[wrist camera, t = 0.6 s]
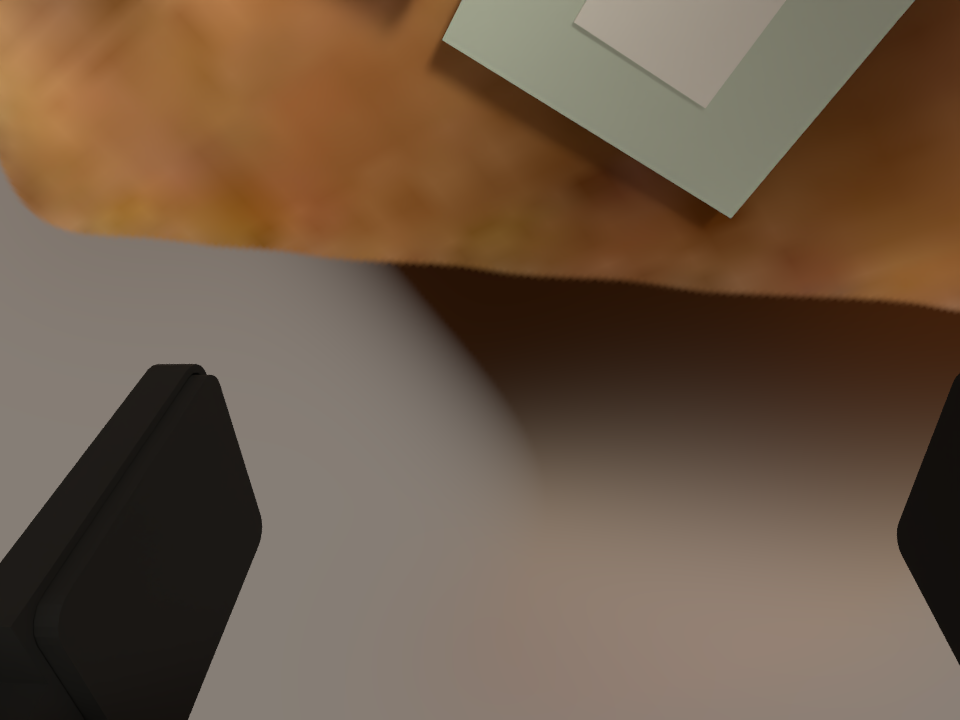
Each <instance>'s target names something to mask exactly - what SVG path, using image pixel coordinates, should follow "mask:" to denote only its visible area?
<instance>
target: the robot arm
mask: <svg viewBox="0 0 960 720" xmlns="http://www.w3.org/2000/svg"><path fill="white" fill-rule="evenodd" d="M261 534H262V520H261V515H260V512H259V509H258V506H257V502H256V499H255V496H254V493H253V489H252V486H251V483H250V480H249V476H248V474H247V470H246V467H245V464H244V460H243V457H242V454H241V451H240V448H239V444H238V441H237V438H236V435H235V431H234V428H233V425H232V422H231V419H230V416H229V412H228V409H227V406H226V403H225V399H224V396H223V393H222V390H221V386H220V384H219V381H218V379H217V378H216V377H215V376H213V375H207V374H206V372H205V370H204V369H203V368H202V367H201V366H200V365H197V364H157V365H153V366H152V367H151V368H149V369H148V370H147V372H146V373H145V374H144V376H143V377H142V378H141V379H140V381H139V382H138V383H137V385H136V386H135V387H134V389H133V390H132V391H131V392H130V394H129V395H128V396H127V398H126V399H125V401H124V402H123V403H122V404H121V406H120V407H119V408H118V409H117V411H116V412H115V413H114V415H113V416H112V418H111V419H110V420H109V421H108V423H107V424H106V425H105V427H104V428H103V429H102V430H101V432H100V433H99V434H98V436H97V437H96V438H95V440H94V441H93V442H92V444H91V445H90V446H89V447H88V449H87V450H86V451H85V453H84V454H83V455H82V457H81V458H80V459H79V461H78V462H77V463H76V465H75V466H74V467H73V468H72V470H71V471H70V472H69V474H68V475H67V476H66V478H65V479H64V480H63V481H62V483H61V484H60V485H59V487H58V488H57V489H56V491H55V492H54V493H53V495H52V496H51V497H50V498H49V500H48V501H47V502H46V504H45V505H44V507H43V508H42V509H41V510H40V512H39V513H38V514H37V516H36V517H35V518H34V519H33V521H32V522H31V523H30V525H29V526H28V527H27V529H26V530H25V531H24V533H23V534H22V535H21V537H20V538H19V539H18V540H17V542H16V543H15V544H14V546H13V547H12V548H11V550H10V551H9V552H8V553H7V555H6V556H5V557H4V559H3V560H2V561H1V563H0V720H188V718H189V715H190V713H191V711H192V708H193V706H194V703H195V701H196V698H197V696H198V693H199V691H200V688H201V686H202V683H203V681H204V678H205V676H206V673H207V671H208V669H209V666H210V664H211V661H212V659H213V656H214V654H215V651H216V649H217V646H218V644H219V642H220V639H221V636H222V634H223V632H224V629H225V627H226V624H227V622H228V619H229V617H230V615H231V612H232V609H233V607H234V605H235V602H236V600H237V597H238V595H239V592H240V590H241V588H242V585H243V582H244V580H245V578H246V575H247V572H248V570H249V568H250V565H251V563H252V560H253V558H254V556H255V553H256V551H257V548H258V546H259V543H260V539H261ZM897 540H898V545H899V550H900V552H901V554H902V556H903V558H904V560H905V562H906V564H907V566H908V568H909V570H910V572H911V573H912V575H913V577H914V579H915V581H916V583H917V585H918V587H919V589H920V590H921V593H922V594H923V596H924V598H925V600H926V602H927V604H928V606H929V608H930V609H931V612H932V613H933V615H934V617H935V619H936V621H937V623H938V625H939V627H940V629H941V631H942V632H943V634H944V636H945V638H946V640H947V642H948V644H949V646H950V648H951V649H952V651H953V653H954V655H955V657H956V659H957V661H958V663H959V665H960V374H959V375H958V376H957V377H956V378H955V380H954V382H953V384H952V387H951V389H950V392H949V394H948V397H947V400H946V402H945V405H944V407H943V410H942V412H941V415H940V418H939V420H938V423H937V426H936V428H935V431H934V433H933V436H932V438H931V441H930V444H929V446H928V449H927V452H926V454H925V456H924V459H923V462H922V464H921V467H920V469H919V472H918V474H917V477H916V480H915V482H914V485H913V487H912V490H911V493H910V495H909V498H908V500H907V503H906V506H905V508H904V511H903V513H902V516H901V519H900V521H899V524H898V528H897Z"/></svg>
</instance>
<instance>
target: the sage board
mask: <svg viewBox="0 0 960 720" xmlns="http://www.w3.org/2000/svg"><path fill="white" fill-rule="evenodd" d="M914 1H915V0H462V1H461V3H460V5H459V7H458V9H457V11H456V13H455V15H454V17H453V19H452V21H451V23H450V25H449V27H448V29H447V31H446V33H445V35H444V37H443V39H442V40H443V41H444V42H446V43H448V44H449V45H451V46H453V47H454V48H456V49H457V50H459V51H461V52H462V53H464V54H465V55H467V56H469V57H470V58H472V59H474V60H475V61H477V62H478V63H480V64H482V65H483V66H485V67H486V68H488V69H490V70H491V71H493V72H495V73H496V74H498V75H499V76H501V77H503V78H504V79H506V80H508V81H509V82H511V83H512V84H514V85H516V86H517V87H519V88H520V89H522V90H524V91H525V92H527V93H529V94H530V95H532V96H533V97H535V98H537V99H538V100H540V101H542V102H543V103H545V104H546V105H548V106H550V107H551V108H553V109H554V110H556V111H558V112H559V113H561V114H563V115H564V116H566V117H567V118H569V119H571V120H572V121H574V122H575V123H577V124H579V125H580V126H582V127H584V128H585V129H587V130H588V131H590V132H592V133H593V134H595V135H597V136H598V137H600V138H601V139H603V140H605V141H606V142H608V143H609V144H611V145H613V146H614V147H616V148H618V149H619V150H621V151H622V152H624V153H626V154H627V155H629V156H630V157H632V158H634V159H635V160H637V161H639V162H640V163H642V164H643V165H645V166H647V167H648V168H650V169H652V170H653V171H655V172H656V173H658V174H660V175H661V176H663V177H664V178H666V179H668V180H669V181H671V182H673V183H674V184H676V185H677V186H679V187H681V188H682V189H684V190H686V191H687V192H689V193H690V194H692V195H694V196H695V197H697V198H698V199H700V200H702V201H703V202H705V203H707V204H708V205H710V206H711V207H713V208H715V209H716V210H718V211H719V212H721V213H723V214H724V215H726V216H728V217H729V218H732V217H733V216H734V214H735V213H736V212H737V211H738V210H739V208H740V207H741V206H742V205H743V204H744V203H745V201H746V200H747V199H748V198H749V197H750V195H751V194H752V193H753V192H754V191H755V189H756V188H757V187H758V186H759V185H760V184H761V182H762V181H763V180H764V179H765V178H766V176H767V175H768V174H769V173H770V172H771V170H772V169H773V168H774V167H775V166H776V165H777V163H778V162H779V161H780V160H781V159H782V157H783V156H784V155H785V154H786V153H787V151H788V150H789V149H790V148H791V147H792V146H793V144H794V143H795V142H796V141H797V140H798V138H799V137H800V136H801V135H802V134H803V132H804V131H805V130H806V129H807V128H808V127H809V125H810V124H811V123H812V122H813V121H814V119H815V118H816V117H817V116H818V115H819V113H820V112H821V111H822V110H823V109H824V108H825V106H826V105H827V104H828V103H829V102H830V100H831V99H832V98H833V97H834V96H835V94H836V93H837V92H838V91H839V90H840V89H841V87H842V86H843V85H844V84H845V83H846V81H847V80H848V79H849V78H850V77H851V75H852V74H853V73H854V72H855V71H856V70H857V68H858V67H859V66H860V65H861V64H862V62H863V61H864V60H865V59H866V58H867V56H868V55H869V54H870V53H871V52H872V51H873V49H874V48H875V47H876V46H877V45H878V43H879V42H880V41H881V40H882V39H883V37H884V36H885V35H886V34H887V33H888V32H889V30H890V29H891V28H892V27H893V26H894V24H895V23H896V22H897V21H898V20H899V18H900V17H901V16H902V15H903V14H904V13H905V11H906V10H907V9H908V8H909V7H910V5H911V4H912V3H913V2H914Z"/></svg>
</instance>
